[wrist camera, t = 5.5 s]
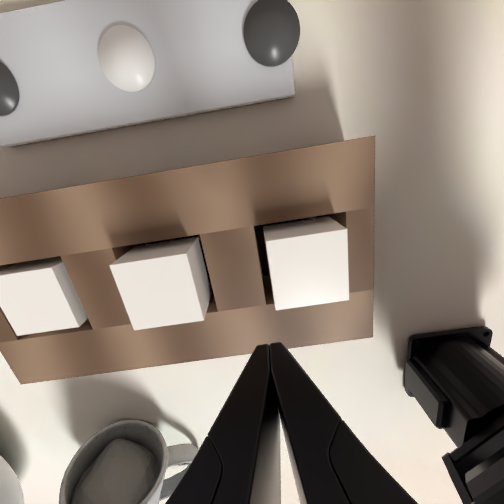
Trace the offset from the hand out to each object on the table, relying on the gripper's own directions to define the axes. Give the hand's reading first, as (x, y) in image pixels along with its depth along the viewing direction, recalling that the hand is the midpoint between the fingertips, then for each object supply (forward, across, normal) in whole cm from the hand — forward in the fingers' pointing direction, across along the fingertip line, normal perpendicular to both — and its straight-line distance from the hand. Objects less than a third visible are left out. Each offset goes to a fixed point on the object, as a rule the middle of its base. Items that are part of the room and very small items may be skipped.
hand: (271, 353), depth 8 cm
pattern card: (+10, +5, -13) cm, 17 cm away
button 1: (+8, -2, 0) cm, 8 cm away
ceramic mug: (+11, +15, +19) cm, 26 cm away
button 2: (+9, +14, -1) cm, 16 cm away
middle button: (+8, +6, -1) cm, 10 cm away
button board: (+10, +6, -1) cm, 12 cm away
